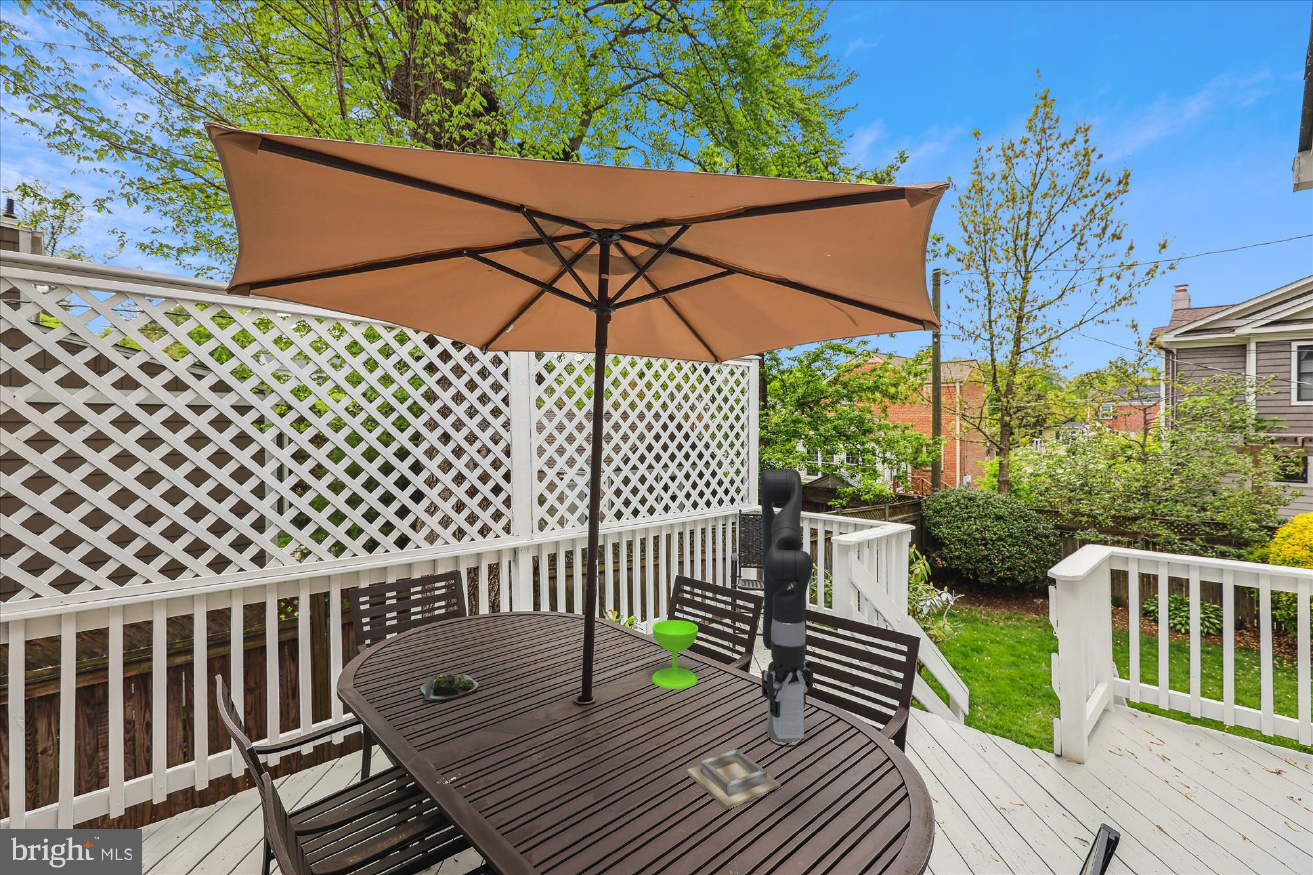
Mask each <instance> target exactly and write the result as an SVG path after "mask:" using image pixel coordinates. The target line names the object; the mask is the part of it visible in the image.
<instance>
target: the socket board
mask: <svg viewBox="0 0 1313 875" xmlns="http://www.w3.org/2000/svg"><path fill="white" fill-rule="evenodd" d="M699 763H700V764H699V765H696V766H694V767H691V768H688V769H687V775H688V776H689V777H690V778H692V779H693V781H695V782H696V783H697V784H698V785H699V786H700V787H702V789H704V791H705V792H707V794H709V795H710V796H711V797H712V799H714V800H715V799H716V800H715V801H716V802H717V801H718V802H717V803H718V804H719V803H720V804H719V805H720V806H722V807H723V808H724V809H725V810H726V809H727V810H726V811H729V810H731V808H732V809H734V808H737V807H739V806H741V805H740V804H742V803H744V802H746V801H749V800H750V799H752V798H754V797H757V796H760V795H761V794H764V793H767V792H769V791H772V790H774V789H777V788H779V787H781V788H782V784H781V783H779V782H778V781H777V780H776V779H774V778H773V777H772V776H770V775H769V774H768V771H767V770H766V769H764V768H762V767H761V765H759V764H757V763H756V762H755V761H753V760H752V759H751V758H750V757H748V756H747V755H746V754H744V753H743V752H742V751H740V750H739V749H738V748H736V749H733V750H730V751H727V752H724V753H722V754H718V755H716V756H713V757H710V758H706V759H703V760H701V761H700V762H699ZM749 802H750V801H749ZM744 804H745V803H744ZM738 805H739V806H738ZM742 805H743V804H742ZM736 806H737V807H736ZM733 807H734V808H733ZM728 809H729V810H728Z"/></svg>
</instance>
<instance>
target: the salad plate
mask: <svg viewBox="0 0 1313 875" xmlns="http://www.w3.org/2000/svg"><path fill="white" fill-rule="evenodd" d="M479 686H480V685H479V682H477V681H476V680H474V679H473V678H472V677H471V676H469V675H467V674H453V675H452V673H448V674H445V675H443V674H439V675H437V674H436V675H433V676H432V677H431V680H430V681H427V682H425V683H423V684H422V685H421V686H420V691H421V693H422V694H423V695H424V696H423V699H424V700H426V701H430V702H434V703H445V702H452V701H455V700H458V699H459V700H460V699H463V698H466V697H469V696H470V695H471V696H472V695H474V694H475V693H476V691H477V690H478V689H479Z"/></svg>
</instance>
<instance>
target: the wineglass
mask: <svg viewBox="0 0 1313 875" xmlns="http://www.w3.org/2000/svg"><path fill="white" fill-rule="evenodd" d="M651 629H652V633H653V636H654V639H655V641H656V643H657V644H658V646H660V647H661V648H663V649H664V650H666V651H668V652H671V653H672V654H671V659H672V660H671V667H668V668H667V667H666V668H662V669H659V670H657V671H656V672H654V674H653V675H652V677H651V681H652V683H653V684H654V685H656V686H658V687H660V688H664V689H668V690H669V689H670V690H682V689H688V688H691V687H693V686H695V685H697V683H698V676H697V675H696V674H695V673H694V672H692V670H691V671H690V670H688V669H685V668H679V667H678V666H679V663H678V661H679V660H678V659H679V658H678V655H679V654H678V653H679V652H682V651H685V650H687V649H688V648H690V647H691V646H692V645H693V644H694V642H696V639H697V636H698V631H699V626H698V625H697V624H696V623H693V622H690V621H686V620H681V619H680V620H679V619H678V620H677V619H671V620H670V619H669V620H661V621H658V622H655V623H654V624H653V625H652V628H651Z"/></svg>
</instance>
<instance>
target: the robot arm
mask: <svg viewBox="0 0 1313 875" xmlns="http://www.w3.org/2000/svg"><path fill="white" fill-rule="evenodd" d="M759 488H760V491H759V492H760V502H761V503H760V504H761V516H762V517H761V518H762V575H763V576H762V578H763V610H762V611H763V614H762V616H763V617H762V642H763V643H762V644H763V646H764V648H766V649H767V650H770V652H771V653H770V655H771V656H770V657H771V659H772V661H771V662H769V663H768V665H767V670H765V669H763V670H762V671H761V694H762V697H763V698H765V699H766V700H767V737H768V736H769V737H770V738H771V739H772V740H775V741H777V742H783V743H791V742H796V741H798V740H800V738H786V739H778V737H777V735H776V733H775V731H774V729H773V716H774V717H776V718H779V717H780V701H779V700H780V697H781V695H782V693H783V692H785V690H786V687H787V685H788V684H789V683H793V682H796V681H799V682H802V683H803V685H804V709H805V708H806V703H807V701H806V700H807V693H808V690H809V689H813V686H814V666H815V665H814V664H815V663H814V662H813V661H811V660H809V659H807V658H806V625H805V604H806V602H805V600H806V597H807V596H806V595H807V590H808V587H809V583H810V580H811V577H812V574H813V570H814V562H813V559H812V557H811V555H810V554H809V553H808V552H807V551H805V550H801V549H802V547H803V541H802V540H803V538H802V531H801V517H802V516H801V515H802V505H803V504H802V502H803V501H802V500H803V483H802V476H801V474H800V472H799V471H798V470H797V469H791V468H789V469H788V468H787V469H784V468H783V469H779V468H777V469H776V468H774V469H772V468H771V469H764V470H762V471H761V474H760V478H759ZM773 504H785V505H784V506H783V507H782V508H781V509H780V511H778V512H777V514H776V512H775V510H774V507H773V506H774V505H773ZM792 583H795V585H793V587H791V588H790V586H791V585H792ZM776 681H778V682H779V683H780V684H782V685H781V686H777V685H776V683H775V682H776ZM776 689H777V693H776V695H775V694H774V693H775V691H776Z"/></svg>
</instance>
